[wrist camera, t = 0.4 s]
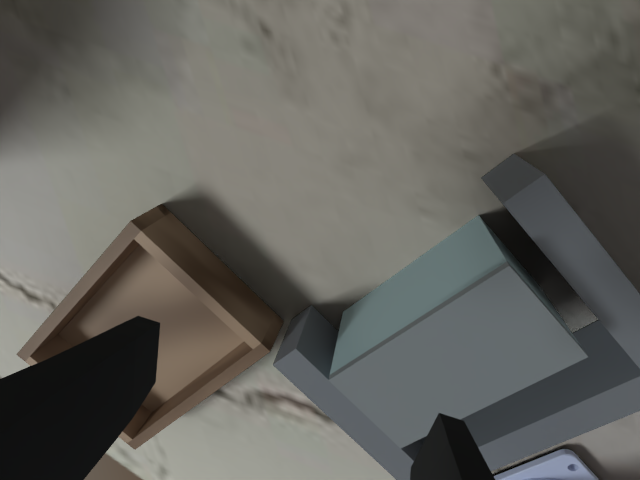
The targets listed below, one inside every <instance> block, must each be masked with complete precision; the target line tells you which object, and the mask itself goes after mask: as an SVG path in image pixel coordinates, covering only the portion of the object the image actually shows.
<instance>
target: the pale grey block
mask: <svg viewBox="0 0 640 480" xmlns="http://www.w3.org/2000/svg"><path fill="white" fill-rule="evenodd" d="M587 357H588V355H587V354H586V352H585V351H584V350H583V348H582V347H581V345H580V344H579V342H578V341H577V339H576V338H575V337H574V335H573V334H572V332H571V331H570V329H569V328H568V326H567V325H566V324H565V322H564V321H563V319H562V318H561V316H560V315H559V313H558V312H557V311H556V309H555V308H554V306H553V305H552V303H551V302H550V300H549V299H548V298H547V296H546V295H545V293H544V292H543V290H542V289H541V287H540V286H539V285H538V283H537V282H536V281H535V280H534V279H533V278H532V277H531V275H530V274H529V273H528V272H527V271H526V270H525V268H524V267H523V266H522V265H521V264H520V263H519V261H518V260H517V259H516V258H515V257H514V256H513V254H512V253H511V252H510V251H509V250H508V249H507V247H506V246H505V245H504V244H503V243H502V242H501V240H500V239H499V238H498V237H497V236H496V235H495V233H494V232H493V231H492V230H491V229H490V228H489V226H488V225H487V224H486V223H485V222H484V221H483V219H482V218H481V217H480V216H479V215H478V216H476V217H475V218H474V219H472V220H471V221H469V222H468V223H467V224H465V225H464V226H462V227H461V228H460V229H458V230H457V231H455V232H454V233H453V234H451V235H450V236H448V237H447V238H446V239H444V240H443V241H441V242H440V243H439V244H437V245H436V246H434V247H433V248H432V249H430V250H429V251H427V252H426V253H425V254H423V255H422V256H420V257H419V258H418V259H416V260H415V261H413V262H412V263H411V264H409V265H408V266H406V267H405V268H404V269H402V270H401V271H399V272H398V273H397V274H395V275H394V276H392V277H391V278H390V279H388V280H387V281H385V282H384V283H383V284H381V285H380V286H378V287H377V288H376V289H374V290H373V291H371V292H370V293H369V294H367V295H366V296H364V297H363V298H362V299H360V300H359V301H357V302H356V303H355V304H353V305H352V306H350V307H349V308H348V309H346V310H345V311H343V314H342V319H341V323H340V328H339V333H338V338H337V342H336V347H335V352H334V356H333V361H332V366H331V370H330V375H329V381H330V382H331V383H332V384H333V385H334V386H335V387H336V388H337V389H338V390H339V391H340V392H341V393H342V394H343V395H345V396H346V397H347V398H348V399H349V400H350V401H351V402H352V403H353V404H354V405H355V406H356V407H357V408H358V409H359V410H360V411H361V412H363V413H364V414H365V415H366V416H367V417H368V418H369V419H370V420H371V421H372V422H373V423H374V424H375V425H376V426H377V427H378V428H379V429H381V430H382V431H383V432H384V433H385V434H386V435H387V436H388V437H389V438H390V439H391V440H392V441H393V442H394V443H395V444H396V445H398V446H399V447H400V448H403V447H405V446H407V445H409V444H411V443H413V442H415V441H417V440H419V439H421V438H423V437H425V436H427V435H428V433H429V431H430V429H431V427H432V425H433V423H434V421H435V419H436V418H437V416H438V414H439V413H441V414H444V415H448V416H451V417H454V418H457V419H462V418H464V417H466V416H468V415H471V414H473V413H475V412H477V411H479V410H481V409H483V408H485V407H487V406H489V405H491V404H493V403H495V402H497V401H499V400H501V399H503V398H505V397H507V396H509V395H512V394H514V393H516V392H518V391H520V390H522V389H524V388H526V387H528V386H530V385H532V384H534V383H536V382H538V381H540V380H542V379H544V378H546V377H548V376H550V375H552V374H555V373H557V372H559V371H561V370H563V369H565V368H567V367H569V366H571V365H573V364H575V363H577V362H579V361H581V360H583V359H585V358H587Z"/></svg>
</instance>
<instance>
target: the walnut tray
mask: <svg viewBox="0 0 640 480" xmlns="http://www.w3.org/2000/svg"><path fill="white" fill-rule="evenodd" d="M136 316H141V317H144V318H147V319H150V320H153V321H156V322H160V334H159V347H158V359H157V372H156V382H155V384H154V386H153V387H152V389H151V391H150V392H149V394H148V395H147V397H146V399H145V400H144V402H143V403H142V405H141V406H140V408H139V409H138V411H137V413H136V414H135V416H134V417H133V419H132V420H131V421H130V423H129V424H128V425H127V426H126V428H125V429H124V430H123V431H122V433H121V434H120V435H119V437H120V438H121V439H122V440H123V441H125V442H126V443H127V444H128V445H130V446H131V447H132V448H133V449H136V448H138V447H139V446H141V445H142V444H143V443H145V442H146V441H148V440H149V439H150V438H152V437H153V436H154V435H156V434H157V433H159V432H160V431H161V430H163V429H164V428H165V427H167V426H168V425H170V424H171V423H172V422H174V421H175V420H177V419H178V418H179V417H181V416H182V415H183V414H185V413H186V412H188V411H189V410H190V409H192V408H193V407H194V406H196V405H197V404H199V403H200V402H201V401H203V400H204V399H206V398H207V397H208V396H210V395H211V394H212V393H214V392H215V391H217V390H218V389H219V388H221V387H222V386H223V385H225V384H226V383H228V382H229V381H230V380H232V379H233V378H234V377H236V376H237V375H239V374H240V373H241V372H243V371H244V370H246V369H247V368H248V367H250V366H251V365H252V364H254V363H255V362H257V361H258V360H259V359H261V358H262V357H263V356H265V355H266V354H268V353H269V352H270V351H271V349H272V346H273V344H274V342H275V340H276V337H277V335H278V333H279V331H280V329H281V326H282V324H283V322H284V321H283V320H282V319H281V318H280V317H279V316H278V315H277V314H276V313H275V312H274V311H273V310H272V309H271V308H270V307H269V306H268V305H266V304H265V303H264V302H263V301H262V300H261V299H260V298H259V297H258V296H257V295H256V294H255V293H254V292H253V291H252V290H251V289H250V288H249V287H248V286H247V285H246V284H245V283H244V282H243V281H242V280H241V279H239V278H238V277H237V276H236V275H235V274H234V273H233V272H232V271H231V270H230V269H229V268H228V267H227V266H226V265H225V264H224V263H223V262H222V261H221V260H220V259H219V258H218V257H217V256H216V255H215V254H213V253H212V252H211V251H210V250H209V249H208V248H207V247H206V246H205V245H204V244H203V243H202V242H201V241H200V240H199V239H198V238H197V237H196V236H195V235H194V234H193V233H192V232H191V231H190V230H189V229H188V228H186V227H185V226H184V225H183V224H182V223H181V222H180V221H179V220H178V219H177V218H176V217H175V216H174V215H173V214H172V213H171V212H170V211H169V210H168V209H167V208H166V207H165V206H164V205H163V204H160V205H158V206H157V207H155V208H153V209H151V210H149V211H148V212H146V213H144V214H142V215H140V216H139V217H137V218H135V219H133V220H131V221H130V222H129V223H128V224H127V226H126V227H125V228H124V229H123V230H122V232H121V233H120V234H119V235H118V236H117V237H116V239H115V240H114V241H113V242H112V243H111V244H110V246H109V247H108V248H107V249H106V250H105V251H104V253H103V254H102V255H101V256H100V257H99V258H98V260H97V261H96V262H95V263H94V264H93V265H92V267H91V268H90V269H89V270H88V271H87V272H86V274H85V275H84V276H83V277H82V278H81V279H80V281H79V282H78V283H77V284H76V285H75V287H74V288H73V289H72V290H71V291H70V292H69V294H68V295H67V296H66V297H65V298H64V299H63V301H62V302H61V303H60V304H59V305H58V306H57V308H56V309H55V310H54V311H53V312H52V313H51V315H50V316H49V317H48V318H47V319H46V320H45V322H44V323H43V324H42V325H41V326H40V327H39V329H38V330H37V331H36V332H35V333H34V335H33V336H32V337H31V338H30V339H29V340H28V342H27V343H26V344H25V345H24V346H23V347H22V349H21V350H20V351H19V352H18V353H17V355H18V356H19V357H20V358H22V359H23V360H24V361H25V362H26V363H28V364H29V365H30V366H32V365H35V364H37V363H39V362H42V361H44V360H46V359H48V358H50V357H53V356H55V355H57V354H59V353H61V352H63V351H65V350H68V349H70V348H72V347H74V346H76V345H78V344H80V343H82V342H84V341H87V340H89V339H91V338H93V337H95V336H97V335H99V334H101V333H103V332H105V331H107V330H109V329H111V328H113V327H115V326H117V325H119V324H121V323H124V322H126V321H128V320H130V319H132V318H134V317H136Z"/></svg>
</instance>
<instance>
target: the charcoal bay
mask: <svg viewBox="0 0 640 480" xmlns="http://www.w3.org/2000/svg"><path fill="white" fill-rule="evenodd" d="M481 179H482V180H483V181H484V182H485V183H486V185H487V186H488V187H489V188H490V189H491V191H492V192H493V193H494V194H495V195H496V197H497V198H498V199H499V200H500V201H501V203H502V204H503V205H504V206H505V207H506V209H507V210H508V211H509V212H510V213H511V215H512V216H513V217H514V218H515V219H516V221H517V222H518V223H519V224H520V225H521V227H522V228H523V229H524V230H525V232H526V233H527V234H528V235H529V236H530V238H531V239H532V240H533V241H534V242H535V244H536V245H537V246H538V247H539V248H540V250H541V251H542V252H543V253H544V254H545V256H546V257H547V258H548V259H549V260H550V262H551V263H552V264H553V265H554V266H555V268H556V269H557V270H558V271H559V272H560V274H561V275H562V276H563V277H564V279H565V280H566V281H567V282H568V283H569V285H570V286H571V287H572V288H573V289H574V291H575V292H576V293H577V294H578V295H579V297H580V298H581V299H582V300H583V301H584V303H585V304H586V305H587V306H588V307H589V309H590V310H591V311H592V312H593V313H594V315H595V316H596V317H597V318H598V319H599V320H598V321H596V322H594V323H592V324H590V325H588V326H586V327H584V328H582V329H580V330H578V331H576V332H574V333H573V335H574V337H575V338H576V339H577V341H578V342H579V344H580V345H581V347H582V348H583V350H584V351H585V352H586V354H587V355H588V357H587V358H585V359H583V360H581V361H579V362H577V363H575V364H573V365H571V366H569V367H567V368H565V369H563V370H561V371H559V372H557V373H555V374H552V375H550V376H548V377H546V378H544V379H542V380H540V381H538V382H536V383H534V384H532V385H530V386H528V387H526V388H524V389H522V390H520V391H518V392H516V393H514V394H512V395H509V396H507V397H505V398H503V399H501V400H499V401H497V402H495V403H493V404H491V405H489V406H487V407H485V408H483V409H481V410H479V411H477V412H475V413H473V414H471V415H468V416H466V417H464V418H462V419H460V420H463V421H464V422H465V424H466V425H467V427H468V429H469V431H470V433H471V435H472V437H473V439H474V441H475V442H476V444H477V446H478V448H479V450H480V452H481V454H482V456H483V458H484V460H485V461H486V463H487V465H488V467H489V469H490V471H493V470H495V469H498V468H500V467H503V466H505V465H507V464H510V463H512V462H515V461H517V460H520V459H522V458H525V457H527V456H530V455H532V454H534V453H537V452H539V451H542V450H544V449H547V448H549V447H552V446H554V445H557V444H559V443H562V442H564V441H566V440H569V439H571V438H574V437H576V436H579V435H581V434H584V433H586V432H589V431H591V430H593V429H596V428H598V427H601V426H603V425H606V424H608V423H611V422H613V421H616V420H618V419H620V418H623V417H625V416H628V415H630V414H633V413H635V412H638V411H640V294H639V292H638V291H637V290H636V289H635V287H634V286H633V285H632V283H631V282H630V281H629V280H628V278H627V277H626V276H625V275H624V273H623V272H622V271H621V270H620V268H619V267H618V266H617V264H616V263H615V262H614V261H613V259H612V258H611V257H610V256H609V254H608V253H607V252H606V251H605V249H604V248H603V247H602V245H601V244H600V243H599V242H598V240H597V239H596V238H595V237H594V235H593V234H592V233H591V232H590V230H589V229H588V228H587V226H586V225H585V224H584V223H583V221H582V220H581V219H580V218H579V216H578V215H577V214H576V213H575V211H574V210H573V209H572V207H571V206H570V205H569V204H568V202H567V201H566V200H565V199H564V197H563V196H562V195H561V194H560V192H559V191H558V190H557V188H556V187H555V186H554V185H553V183H552V182H551V181H550V180H549V178H548V177H547V176H546V175H545V174H544V173H543V172H541V171H540V170H538V169H537V168H535V167H534V166H532V165H531V164H529V163H528V162H526V161H525V160H523V159H522V158H520V157H519V156H517V155H515V154H513V155H511V156H510V157H508V158H507V159H506V160H504V161H503V162H502V163H500V164H499V165H498V166H496V167H495V168H494V169H492V170H491V171H490V172H488V173H487V174H486V175H484V176H483V177H482V178H481ZM338 333H339V332H338V331H337V330H336V329H335V328H334V327H333V326H332V325H331V324H330V323H329V322H328V321H327V320H326V319H325V318H324V317H323V316H322V315H321V314H320V313H319V312H318V311H317V310H316V309H315V308H314V307H313V306H312V305H311V306H309V307H308V308H307V309H305V310H304V311H303V312H301V313H300V314H299V315H297V316H296V317H295V318H293V319H292V320H291V322H290V325H289V327H288V330H287V332H286V334H285V337H284V339H283V342H282V344H281V346H280V349H279V351H278V354H277V356H276V358H275V361H274V363H273V366H275V367H276V368H277V369H278V370H279V371H280V372H281V373H282V374H283V375H284V376H285V377H286V378H287V379H289V380H290V381H291V382H292V383H293V384H294V385H295V386H296V387H297V388H298V389H299V390H300V391H301V392H303V393H304V394H305V395H306V396H307V397H308V398H309V399H310V400H311V401H312V402H313V403H314V404H315V405H317V406H318V407H319V408H320V409H321V410H322V411H323V412H324V413H325V414H326V415H327V416H328V417H329V418H331V419H332V420H333V421H334V422H335V423H336V424H337V425H338V426H339V427H340V428H341V429H342V430H344V431H345V432H346V433H347V434H348V435H349V436H350V437H351V438H352V439H353V440H354V441H355V442H356V443H358V444H359V445H360V446H361V447H362V448H363V449H364V450H365V451H366V452H367V453H368V454H369V455H370V456H372V457H373V458H374V459H375V460H376V461H377V462H378V463H379V464H380V465H381V466H382V467H383V468H384V469H386V470H387V471H388V472H389V473H390V474H391V475H392V476H393V477H394V478H395V479H396V480H410V472H411V466H412V464H413V462H414V460H415V458H416V456H417V454H418V452H419V450H420V449H421V447H422V445H423V443H424V441H425V439H426V437H427V436H425V437H423V438H421V439H419V440H417V441H415V442H413V443H411V444H409V445H407V446H405V447H403V448H400V447H399V446H398V445H396V444H395V443H394V442H393V441H392V440H391V439H390V438H389V437H388V436H387V435H386V434H385V433H384V432H383V431H382V430H381V429H379V428H378V427H377V426H376V425H375V424H374V423H373V422H372V421H371V420H370V419H369V418H368V417H367V416H366V415H365V414H364V413H363V412H361V411H360V410H359V409H358V408H357V407H356V406H355V405H354V404H353V403H352V402H351V401H350V400H349V399H348V398H347V397H346V396H345V395H343V394H342V393H341V392H340V391H339V390H338V389H337V388H336V387H335V386H334V385H333V384H332V383H331V382H330V381H329V375H330V370H331V366H332V361H333V356H334V352H335V347H336V342H337V338H338Z"/></svg>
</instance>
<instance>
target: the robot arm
mask: <svg viewBox="0 0 640 480" xmlns="http://www.w3.org/2000/svg"><path fill="white" fill-rule="evenodd" d="M159 334H160V322H156V321H153V320H150V319H147V318H144V317H141V316H136V317H134V318H132V319H130V320H128V321H126V322H124V323H121V324H119V325H117V326H115V327H113V328H111V329H109V330H107V331H105V332H103V333H101V334H99V335H97V336H95V337H93V338H91V339H89V340H87V341H84V342H82V343H80V344H78V345H76V346H74V347H72V348H70V349H68V350H65V351H63V352H61V353H59V354H57V355H55V356H53V357H50V358H48V359H46V360H44V361H42V362H39V363H37V364H35V365H32V366H30V367H28V368H25V369H23V370H21V371H18V372H16V373H14V374H11V375H9V376H7V377H4V378H2V379H0V480H84V478H85V477H86V476H87V475H88V473H89V472H90V471H91V470H92V469H93V467H94V466H95V465H96V464H97V462H98V461H99V460H100V459H101V458H102V456H103V455H104V454H105V453H106V451H107V450H108V449H109V448H110V446H111V445H112V444H113V443H114V441H115V440H116V439H117V438H118V436H119V435H120V434H121V433H122V431H123V430H124V429H125V428H126V426H127V425H128V424H129V423H130V421H131V420H132V419H133V417H134V416H135V414H136V413H137V411H138V409H139V408H140V406H141V405H142V403H143V402H144V400H145V399H146V397H147V395H148V394H149V392H150V391H151V389H152V387H153V386H154V384H155V382H156V372H157V359H158V347H159ZM410 480H599V479H598V477H597V476H596V475H595V474H594V473H593V472H592V471H591V470H590V469H589V468H588V467H587V466H586V465H585V463H584V462H583V461H582V460H581V459H580V458H579V457H578V456H577V455H576V454H575V453H574V452H573V451H572V450H569V449H561V450H558V451H555V452H553V453H550V454H548V455H545V456H543V457H540V458H538V459H535V460H533V461H530V462H528V463H525V464H523V465H520V466H518V467H515V468H513V469H510V470H508V471H505V472H503V473H500V474H498V475H495V476H493V475H492V473H491V471H490V469H489V467H488V465H487V463H486V461H485V460H484V458H483V456H482V454H481V452H480V450H479V448H478V446H477V444H476V442H475V441H474V439H473V437H472V435H471V433H470V431H469V429H468V427H467V425H466V424H465V422H464V421H463V420H460V419H457V418H454V417H451V416H448V415H444V414H441V413H439V414H438V416H437V418H436V419H435V421H434V423H433V425H432V427H431V429H430V431H429V433H428V435H427V437H426V439H425V441H424V443H423V445H422V447H421V449H420V450H419V452H418V454H417V456H416V458H415V460H414V462H413V464H412V466H411V472H410Z"/></svg>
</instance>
